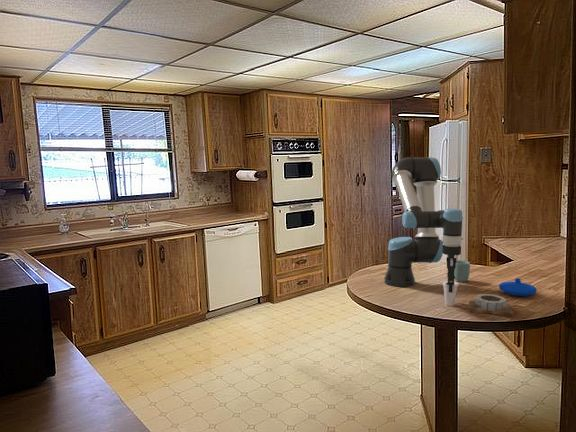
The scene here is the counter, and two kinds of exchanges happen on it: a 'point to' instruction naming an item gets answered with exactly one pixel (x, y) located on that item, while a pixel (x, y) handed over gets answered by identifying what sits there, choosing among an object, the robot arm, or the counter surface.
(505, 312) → the board
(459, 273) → the cup
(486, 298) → the ring
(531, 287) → the blue funnel
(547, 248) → the counter surface
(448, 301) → the smoothie
